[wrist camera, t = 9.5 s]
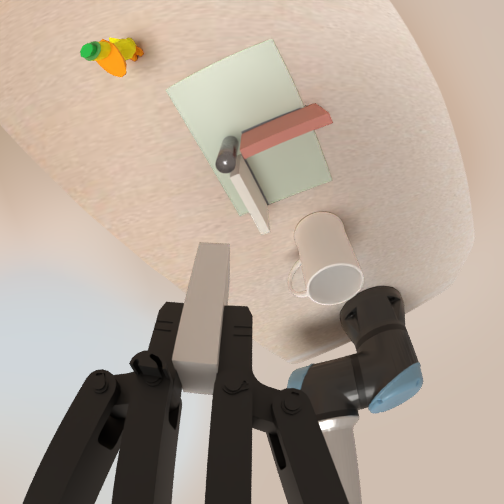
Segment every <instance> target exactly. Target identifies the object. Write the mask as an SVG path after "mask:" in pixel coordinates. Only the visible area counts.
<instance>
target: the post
mask: <svg viewBox="0 0 504 504" xmlns="http://www.w3.org/2000/svg"><path fill="white" fill-rule="evenodd" d="M238 145H239V142H238V140H237V138H236V137H234V136H227V137H225V138H224V139H223V142H222V144H221V147H220V150H219V153H218V156H217V159H216V163H215V165H216V168H217V170H218V171H219V172H221V173H230V172H232V171H233V170H234V169H235V166H236V159H237V152H238Z"/></svg>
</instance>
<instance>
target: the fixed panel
mask: <svg viewBox="0 0 504 504" xmlns="http://www.w3.org/2000/svg"><path fill="white" fill-rule="evenodd" d="M230 179H231V181H232V183H233V185H234V186H235V188H236V190H237V192H238V194H239V195H240V197H241V199H242V201H243V203H244V204H245V206H246V208H247V210H248V212H249V213H250V215H251V217H252V219H253V221H254V222H255V224H256V226H257V228H258V230H259V231H260V233H261V235H263V234H266V233H269V232H270V226H269V215H268V205H267V203H266V201H265V199H264V197H263V195H262V193H261V192H260V190H259V188H258V186H257V184H256V182H255V180H254V178H253V176H252V174H251V172H250V170H249V168H248V166H247V164H246V163H245V161H244V159H243V157H242V155H241V154H240V155H237V159H236V166H235V169H234V170H233V171H232V172H230Z"/></svg>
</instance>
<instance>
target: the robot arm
mask: <svg viewBox="0 0 504 504" xmlns="http://www.w3.org/2000/svg"><path fill="white" fill-rule="evenodd" d="M229 284H230V244H223V243H202V242H200V243H199V246H198V250H197V254H196V258H195V261H194V265H193V269H192V273H191V277H190V281H189V285H188V289H187V294H186V298H185V302H184V303H175V302H166V303H165V304H164V305H163V306H162V308H161V309H160V310H159V313H158V316H157V320H156V323H155V327H154V331H153V334H152V338H151V341H150V345H149V348H148V351H142V352H140V353H138V354H136V355H135V356H134V357H133V358H132V360H131V361H130V363H129V364H130V366H131V367H132V369H133V370H134V372H131V373H127V374H119V375H113V374H111V373H110V372H109V371H106V370H103V369H102V370H96V371H94V372H92V373H91V374H90V375H89V376H88V377H87V378H86V380H85V382H84V383H83V385H82V387H81V388H80V390H79V392H78V394H77V396H76V397H75V399H74V401H73V402H72V404H71V406H70V407H69V409H68V411H67V413H66V415H65V417H64V418H63V420H62V422H61V424H60V426H59V428H58V429H57V431H56V433H55V435H54V437H53V439H52V441H51V443H50V445H49V447H48V449H47V451H46V453H45V455H44V457H43V459H42V461H41V463H40V465H39V467H38V469H37V472H36V474H35V476H34V478H33V480H32V483H31V485H30V487H29V489H28V492H27V494H26V497H25V499H24V502H23V504H94V503H95V501H96V499H97V497H98V495H99V492H100V490H101V488H102V486H103V483H104V481H105V479H106V477H107V474H108V472H109V470H110V468H111V466H112V464H113V462H114V459H115V457H116V455H117V453H118V451H119V449H120V451H119V456H118V462H117V468H116V475H115V481H114V488H113V496H112V504H171V501H172V489H173V478H174V468H175V458H176V449H177V441H178V433H179V424H180V416H181V409H182V400H181V391H182V389H183V391H184V392H190V393H198V394H209V395H213V400H212V412H211V423H210V436H209V449H208V462H207V477H206V492H205V504H251V476H252V475H251V474H252V473H251V472H252V428H254V429H257V430H260V431H263V432H266V434H267V437H268V441H269V444H270V447H271V451H272V454H273V457H274V461H275V464H276V467H277V471H278V474H279V477H280V480H281V483H282V486H283V490H284V493H285V496H286V499H287V502H288V504H362V501H361V490H360V481H359V471H358V463H357V456H356V448H355V441H354V434H353V427H354V425H355V424H356V423H357V421H358V420H359V414H358V410H360V409H364V408H367V407H368V409H369V410H370V412H371V413H379V412H384V411H387V410H390V409H392V408H394V407H396V406H398V405H400V404H402V403H404V402H405V401H407V400H408V399H410V398H411V397H412V396H414V395H415V394H416V393H417V392H418V391H419V390H420V388H421V387H422V384H423V377H422V373H421V369H420V363H419V362H418V359H417V356H416V353H415V351H414V348H413V345H412V343H411V340H410V337H409V335H408V332H407V330H406V327H405V312H404V302H403V299H402V297H401V295H400V293H399V292H398V291H397V290H396V289H394V288H391V287H375V288H371V289H368V290H365V291H363V292H361V293H359V294H357V295H356V296H354V297H353V298H352V299H350V300H349V301H348V302H347V303H346V304H345V306H344V307H343V309H342V311H341V313H340V320H341V324H342V327H343V329H344V331H345V332H346V334H347V335H348V336H349V338H350V339H351V341H352V342H353V343H354V345H355V347H356V351H357V353H356V354H352V355H349V356H345V357H342V358H338V359H334V360H330V361H325V362H321V363H317V364H310V365H309V366H306V367H302V368H299V369H296V370H295V371H293V372H292V374H291V376H290V378H289V380H288V386H287V388H286V389H284V390H277V389H274V388H271V387H268V386H266V385H263V384H262V383H260V382H259V381H258V380H257V379H256V378H255V376H254V374H253V371H252V314H251V312H250V310H249V308H248V307H247V306H227V305H228V295H229Z"/></svg>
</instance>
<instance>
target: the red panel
mask: <svg viewBox="0 0 504 504" xmlns="http://www.w3.org/2000/svg"><path fill="white" fill-rule="evenodd" d="M331 123H333V122H332V119H331V117H330V114H329V113H328V112H327V111H326V110H324V109H323V108H321V107H320V106H318V105H317V104H316V103H315V104H312V105H309V106H307V107H304V108H301V109H299V110H296V111H294V112H291V113H289V114H286V115H284V116H281V117H279V118H277V119H274V120H272V121H270V122H267V123H265V124H263V125H260V126H258V127H256V128H254V129H252V130H249V131H247V132H245V133H243V134H242V135H241V143H240V152H241V154H242V156H243V157H244V159H246V158H248V157H251V156H253V155H255V154H257V153H260V152H262V151H264V150H266V149H269V148H271V147H273V146H276V145H278V144H280V143H283V142H285V141H288V140H290V139H292V138H295V137H297V136H300V135H302V134H305V133H307V132H310V131H313V130H315V129H318V128H320V127H323V126H326V125H329V124H331Z"/></svg>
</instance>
